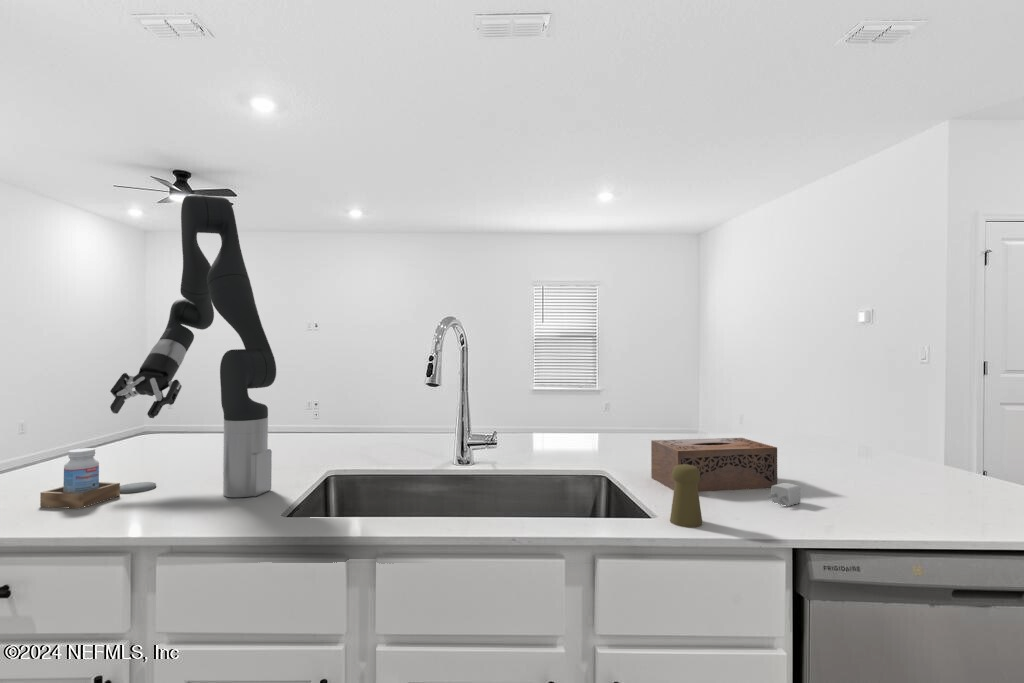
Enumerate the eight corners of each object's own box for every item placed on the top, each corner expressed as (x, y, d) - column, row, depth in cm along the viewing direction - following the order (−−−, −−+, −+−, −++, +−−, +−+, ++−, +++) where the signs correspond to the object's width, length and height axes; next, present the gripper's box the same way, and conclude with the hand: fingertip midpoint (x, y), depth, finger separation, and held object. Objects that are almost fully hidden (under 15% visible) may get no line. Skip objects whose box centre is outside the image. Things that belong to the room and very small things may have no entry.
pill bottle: (79, 506, 114) (79, 453, 115) (55, 504, 116) (56, 452, 116) (105, 498, 120) (106, 447, 121) (83, 496, 122) (83, 446, 122)
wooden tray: (119, 496, 122) (119, 482, 122) (79, 508, 113) (79, 494, 113) (83, 494, 124) (83, 481, 124) (40, 506, 114) (40, 492, 114)
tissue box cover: (741, 475, 144) (741, 437, 144) (777, 489, 130) (777, 447, 130) (651, 479, 140) (651, 440, 140) (677, 493, 126) (677, 450, 126)
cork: (665, 517, 107) (665, 462, 107) (694, 516, 108) (694, 461, 108) (677, 527, 101) (677, 469, 101) (708, 526, 102) (708, 468, 102)
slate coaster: (164, 485, 132) (164, 482, 132) (136, 494, 124) (136, 491, 124) (135, 483, 133) (135, 481, 133) (106, 492, 125) (106, 489, 125)
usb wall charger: (800, 504, 117) (800, 485, 117) (782, 509, 113) (781, 490, 113) (782, 500, 120) (782, 482, 120) (764, 504, 116) (764, 486, 116)
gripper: (129, 348, 137) (94, 402, 127) (187, 355, 138) (156, 409, 127) (141, 365, 143) (108, 418, 132) (196, 372, 143) (168, 425, 133)
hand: (132, 414), depth 130 cm, fingers open, 8 cm apart
